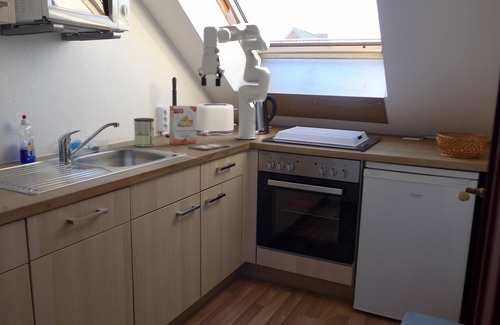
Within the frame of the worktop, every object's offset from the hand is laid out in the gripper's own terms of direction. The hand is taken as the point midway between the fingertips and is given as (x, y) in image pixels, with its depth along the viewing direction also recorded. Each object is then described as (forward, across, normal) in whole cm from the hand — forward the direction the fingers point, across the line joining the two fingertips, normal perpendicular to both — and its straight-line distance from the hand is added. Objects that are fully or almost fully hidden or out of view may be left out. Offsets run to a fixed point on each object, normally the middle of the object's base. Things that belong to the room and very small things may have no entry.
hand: (210, 86), depth 232 cm
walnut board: (+32, -1, +2) cm, 32 cm away
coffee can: (+32, +29, +20) cm, 48 cm away
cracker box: (+32, +19, +2) cm, 37 cm away
